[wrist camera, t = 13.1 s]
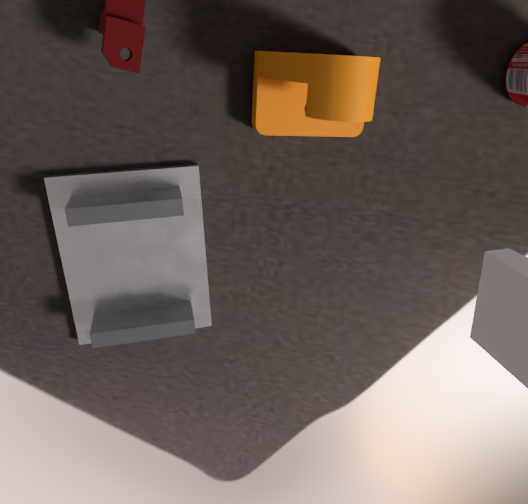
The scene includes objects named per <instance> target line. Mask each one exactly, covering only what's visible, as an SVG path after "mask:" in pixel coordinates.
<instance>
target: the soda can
mask: <svg viewBox="0 0 528 504" xmlns="http://www.w3.org/2000/svg"><path fill="white" fill-rule="evenodd" d="M506 89H507V92H508V94H509V96H510V98H511V99H512V100H513V101H514V102H515V103H517V104H519V105H522V106H525V107H528V42H527V43H526V44H524V45H523V46H522V47H521V48H519V50H518V51H517V52H516V53H515V54H514V56H513V57H512V59H511V61H510V63H509V66H508V69H507V73H506Z"/></svg>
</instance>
